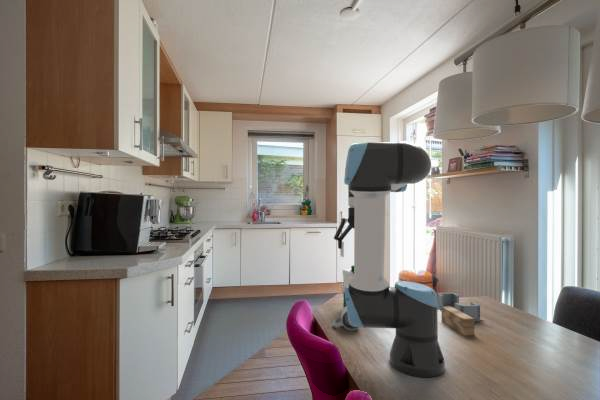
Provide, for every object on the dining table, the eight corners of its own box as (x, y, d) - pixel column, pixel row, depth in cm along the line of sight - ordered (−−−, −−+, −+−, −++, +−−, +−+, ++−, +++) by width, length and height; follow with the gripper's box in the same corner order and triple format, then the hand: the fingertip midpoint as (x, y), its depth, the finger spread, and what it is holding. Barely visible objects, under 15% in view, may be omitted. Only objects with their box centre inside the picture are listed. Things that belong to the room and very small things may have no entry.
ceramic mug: (358, 322, 126) (358, 303, 126) (362, 330, 118) (361, 309, 118) (332, 322, 126) (331, 303, 126) (333, 331, 118) (333, 310, 118)
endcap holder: (483, 320, 127) (483, 305, 127) (459, 321, 126) (459, 306, 126) (454, 305, 147) (454, 292, 147) (434, 305, 146) (433, 292, 146)
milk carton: (349, 315, 135) (349, 267, 135) (340, 308, 143) (340, 264, 143) (367, 312, 137) (367, 266, 138) (357, 306, 146) (357, 263, 146)
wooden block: (474, 335, 114) (474, 318, 114) (464, 336, 113) (463, 319, 113) (450, 321, 128) (450, 306, 128) (441, 321, 127) (441, 306, 127)
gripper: (381, 206, 143) (381, 254, 142) (327, 207, 140) (327, 255, 139) (388, 206, 135) (388, 256, 135) (330, 207, 132) (331, 258, 132)
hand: (357, 256), depth 137 cm, fingers open, 13 cm apart
